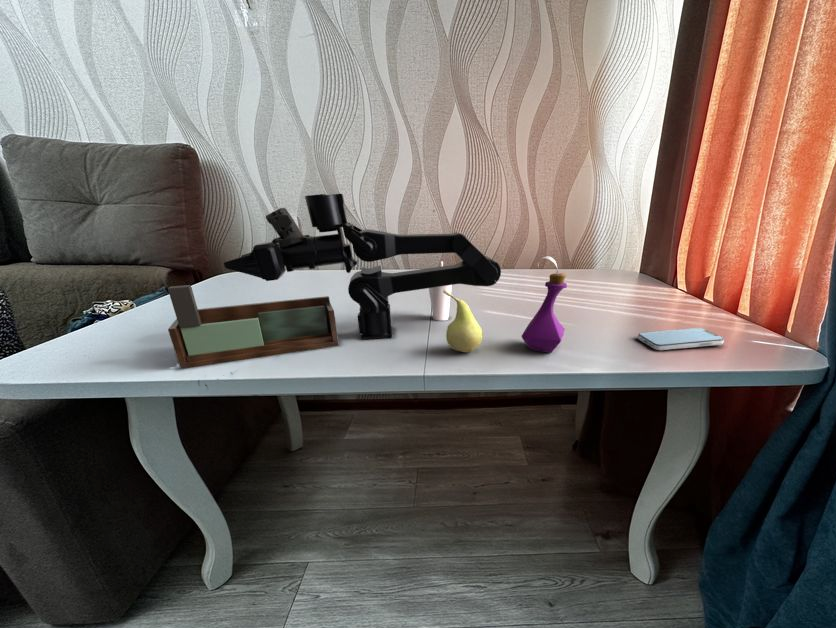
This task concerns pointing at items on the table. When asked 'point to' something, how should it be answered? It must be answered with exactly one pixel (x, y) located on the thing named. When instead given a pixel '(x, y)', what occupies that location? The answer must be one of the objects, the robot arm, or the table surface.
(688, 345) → the smartphone
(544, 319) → the perfume bottle
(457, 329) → the fruit
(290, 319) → the brown wooden box
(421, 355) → the table surface
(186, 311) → the green grey l-shaped block
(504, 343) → the table surface
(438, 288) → the smoothie
